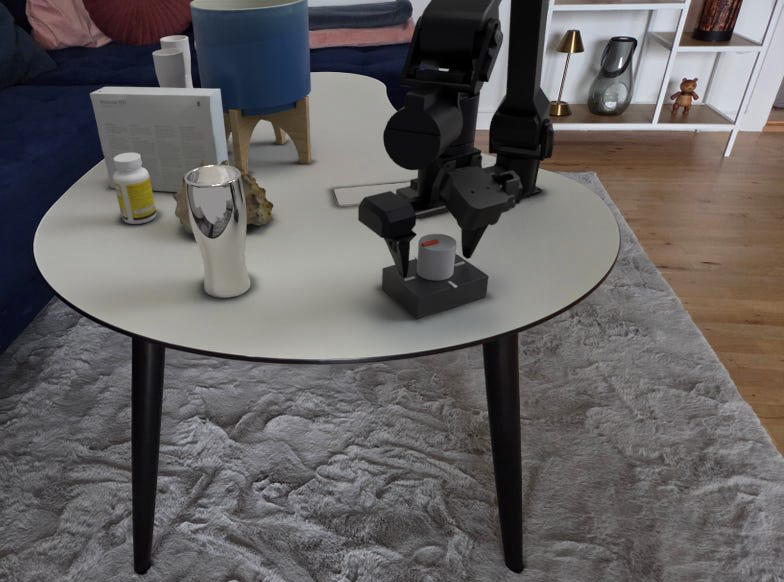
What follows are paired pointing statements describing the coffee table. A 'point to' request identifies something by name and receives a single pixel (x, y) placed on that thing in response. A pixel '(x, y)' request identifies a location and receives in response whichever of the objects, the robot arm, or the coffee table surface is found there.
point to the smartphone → (363, 193)
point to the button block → (409, 193)
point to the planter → (257, 68)
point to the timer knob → (436, 256)
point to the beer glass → (219, 227)
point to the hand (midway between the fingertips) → (435, 266)
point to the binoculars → (173, 62)
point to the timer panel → (434, 288)
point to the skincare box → (161, 130)
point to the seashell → (254, 198)
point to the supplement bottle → (133, 189)
